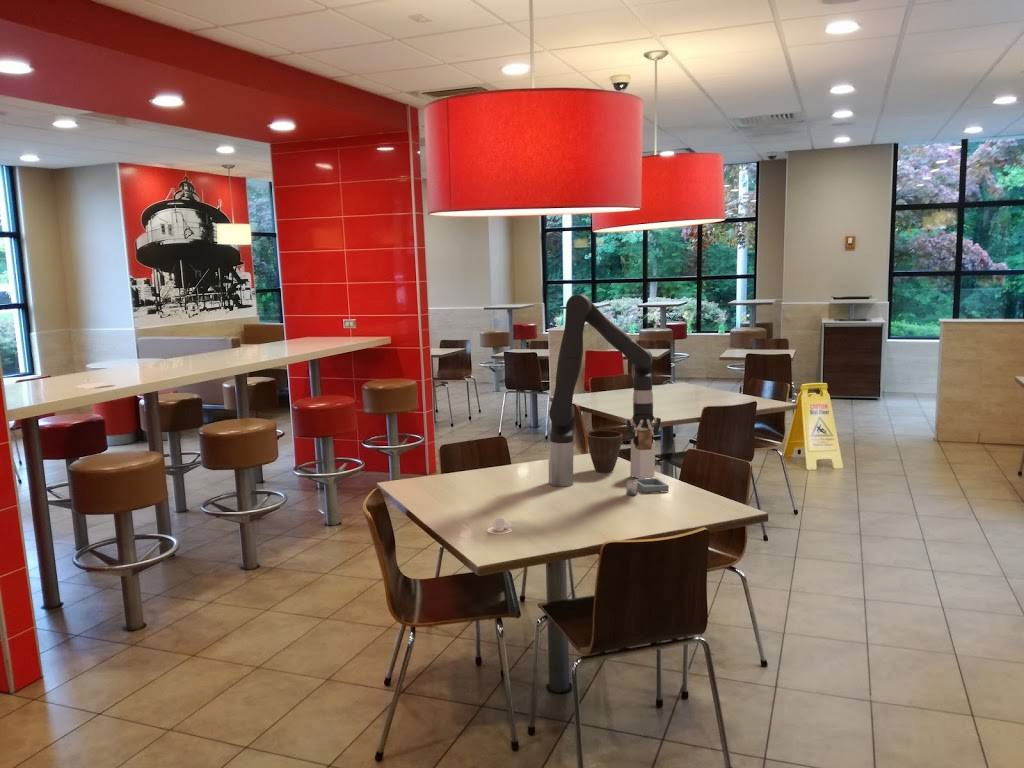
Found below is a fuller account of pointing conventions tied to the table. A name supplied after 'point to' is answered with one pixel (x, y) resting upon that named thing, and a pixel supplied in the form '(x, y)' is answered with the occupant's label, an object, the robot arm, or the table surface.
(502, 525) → the teacup and saucer
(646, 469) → the milk carton
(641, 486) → the slate tray
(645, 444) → the walnut block
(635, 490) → the metal cylinder
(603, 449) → the plant pot
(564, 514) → the table surface
